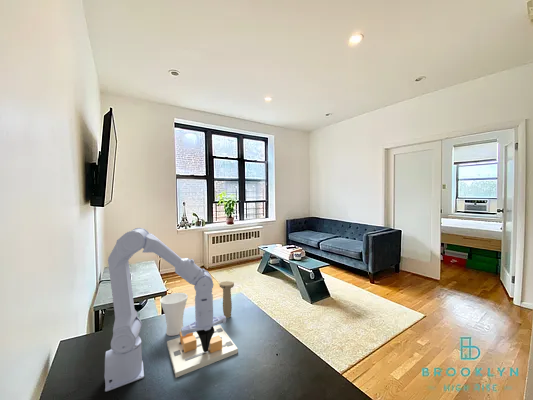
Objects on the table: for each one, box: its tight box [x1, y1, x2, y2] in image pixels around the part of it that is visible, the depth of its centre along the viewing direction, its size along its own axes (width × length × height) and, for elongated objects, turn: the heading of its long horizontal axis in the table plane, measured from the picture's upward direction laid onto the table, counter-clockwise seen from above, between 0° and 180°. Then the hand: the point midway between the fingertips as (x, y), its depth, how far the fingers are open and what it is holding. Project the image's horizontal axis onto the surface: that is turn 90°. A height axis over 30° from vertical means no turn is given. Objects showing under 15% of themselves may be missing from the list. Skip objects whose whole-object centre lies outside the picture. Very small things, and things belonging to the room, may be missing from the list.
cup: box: [159, 292, 189, 337], centre depth 92 cm, size 10×10×14 cm
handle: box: [218, 280, 235, 319], centre depth 102 cm, size 5×6×15 cm
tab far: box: [179, 332, 194, 345], centre depth 83 cm, size 4×3×3 cm
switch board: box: [166, 324, 239, 379], centre depth 80 cm, size 20×18×2 cm
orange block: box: [208, 335, 222, 353], centre depth 78 cm, size 4×3×3 cm
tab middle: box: [182, 335, 197, 353], centre depth 78 cm, size 4×3×3 cm
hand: (205, 349), depth 76 cm, fingers closed
